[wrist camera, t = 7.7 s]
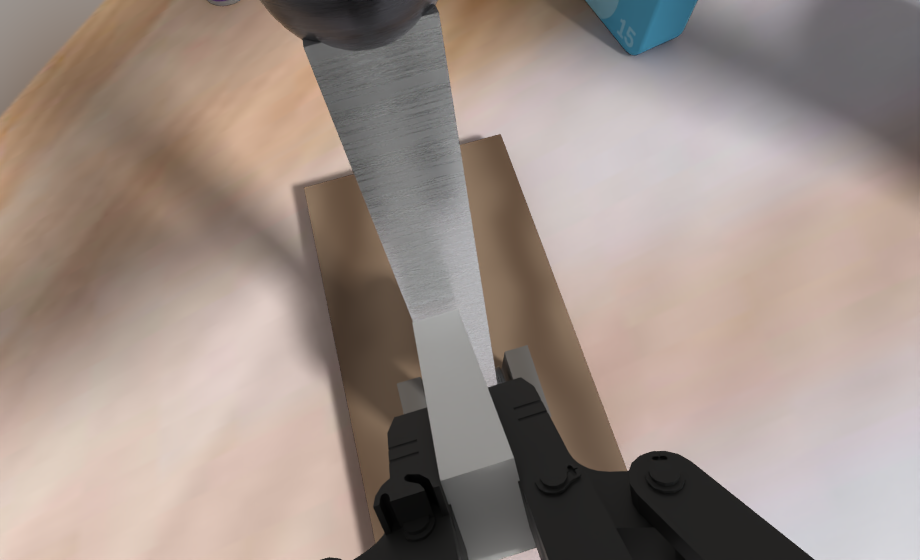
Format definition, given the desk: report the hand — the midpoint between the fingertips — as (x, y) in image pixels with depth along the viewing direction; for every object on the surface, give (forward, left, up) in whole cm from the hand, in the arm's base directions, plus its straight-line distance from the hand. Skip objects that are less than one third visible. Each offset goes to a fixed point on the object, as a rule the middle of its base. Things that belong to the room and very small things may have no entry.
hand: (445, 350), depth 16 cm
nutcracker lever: (0, -1, -12) cm, 12 cm away
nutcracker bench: (0, -5, -19) cm, 20 cm away
